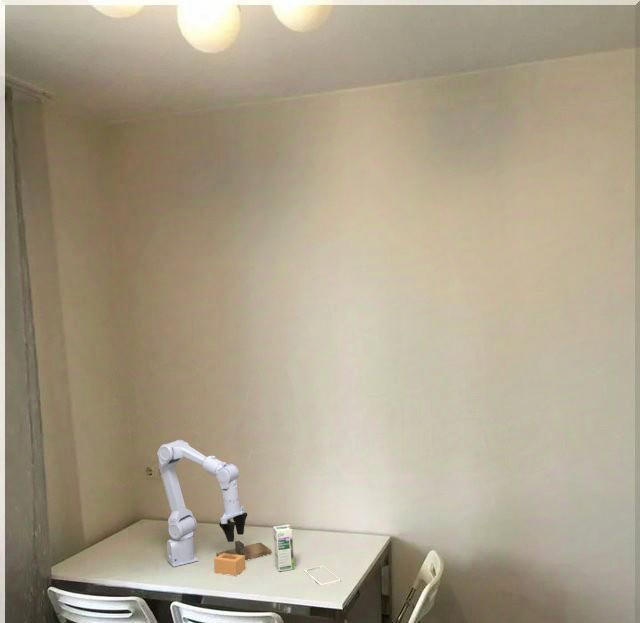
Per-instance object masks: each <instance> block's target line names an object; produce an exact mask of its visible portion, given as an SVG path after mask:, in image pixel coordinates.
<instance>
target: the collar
mask: <svg viewBox="0 0 640 623" xmlns="http://www.w3.org/2000/svg"><path fill="white" fill-rule="evenodd" d="M213 563H214V564H213V565H214V567H213V568H214V574H218V573H222V574H221V575H225V574H230V575H229V576H231V575H238V574H239V573H240V574H242V573H243V572H244V571H243V570H245V569H246V561H245V556H244V555H236V554H229V553H222V554H221V555H219V556H218V557H217V556H215V558H213ZM242 571H243V572H242ZM245 571H246V570H245ZM241 572H242V573H241ZM240 574H239V575H240ZM239 575H238V576H239Z"/></svg>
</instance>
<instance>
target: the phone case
mask: <svg viewBox="0 0 640 623" xmlns="http://www.w3.org/2000/svg"><path fill="white" fill-rule="evenodd" d="M315 568H319V569H323V568H324V569H323V570H325V571H326V572H327V571H328V572H329V573H330V576H332V575H333V576H334V577H335V578H334V579H335V580H334V581H333V580H332V581H329V582H325V583H321V582H320V581H318V580H317V579H316V578H315V577H314V576H313V575H311V574H310V572H308V570H311V569H315ZM303 572H305V573H304V574H306V575H307V576H308V577H309V576H310V577H311V578H312V579H313V580H314V581H315V582H316V583H317V584H318V586H319V585H320V586H324V587H326V586H325V585H328V586H330V585H329V584H332V585H335V584H334V583H337V584H340V583H341V578H339V577H338V576H337V575H336V574H335V573H333V572H332V571H330V570H329V569H328V568H327V567H326V566H324V565H323V564H321V565H317V566H312V567H308V568H304V569H303ZM328 572H327V573H328ZM329 573H328V574H329ZM333 576H332V577H333ZM310 577H309V578H310ZM311 578H310V579H311ZM312 579H311V580H312ZM339 582H340V583H339ZM320 586H319V587H320Z"/></svg>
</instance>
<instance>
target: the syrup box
mask: <svg viewBox="0 0 640 623" xmlns="http://www.w3.org/2000/svg"><path fill="white" fill-rule="evenodd" d="M272 528H273V530H272V531H273V543H274V544H273V546H274V547H273V548H274V562H275V567H277V568H276V569H277V571H278V572H279V571H281V572H286V571H292V570H295V560H294V559H295V556H294V542H293V540H294V538H293V529H292V527H291V525H290V524H283V525H277V526H273V527H272Z"/></svg>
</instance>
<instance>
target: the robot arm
mask: <svg viewBox="0 0 640 623" xmlns="http://www.w3.org/2000/svg"><path fill="white" fill-rule="evenodd" d="M156 454H157V457H158V470H159V472H160V476H161V480H162V483H163V486H164V487H163V488H164V490H165V494H166V498H167V502H168V505H169V508H170V512H171V513H170V516H169V517H168V520H167V523H168V530H167V531H168V534H169V536H170V537H171V538H170V539H168V540H167V541H166V552H167V560H166V561H167V562H168V563H169V564H170V565H171V566H172V567H173V568H174V567H178V566H183V565H186V564H187V565H188V564H191V563H195V562H198V561H199V559H198V558H197V557H196V556H195V545H194V543H195V542H194V534H195V531H196V529H197V528H198V525H197V524H198V523H197V520H196V518H195V517H194V515H193V513H192V512H193V511H191V510H190V509H189V508H187V507H186V504H185V500H184V496H183V493H182V490H181V489H182V488H181V485H180V482H179V478H178V473H177V471H176V466H177V464H178V463H179V461H180V460H181V459H183V458H184V459H187V460H188V461H191V462H193V463H195V464H197V465H200V466H201V469H202V470H203V471H205V473H208V474H210V475H212V476H213V477H215V478H216V480H217V482H218V483H219V486H220V488H221V495H222V503H223V511H224V513H223V515H222V517H220V522H219V523H218V525H219V527H220V528H221V529H222V531H223V533H224V535H225V539H226V540H227V543H235V531H236V534H237V535H239V536H240V535H242V536H243V535H244V532H245V525H246V520H247V518H248V517H247V516H248V512H246V511H245V506H244V505H241V502H240V496H239V488H238V480H237V479H238V478H239V476H240V470H239V468H238V466H237V465H235V463H229V464H228V463H227V462H225V461H222V460H220V459H219V458H217V456H215V455H209V456H206V455H204V454H203V453H201V452H200V451H198V450H197V449H195V448H193V447H192V446H190V444H189V443H188V442H187V441H184V440H182V439H177V440H175V441H171V442H169V443H164V444H161V446H160V447H159V448H158V449H157V452H156ZM231 520H233V521H231ZM235 529H236V530H235Z"/></svg>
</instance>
